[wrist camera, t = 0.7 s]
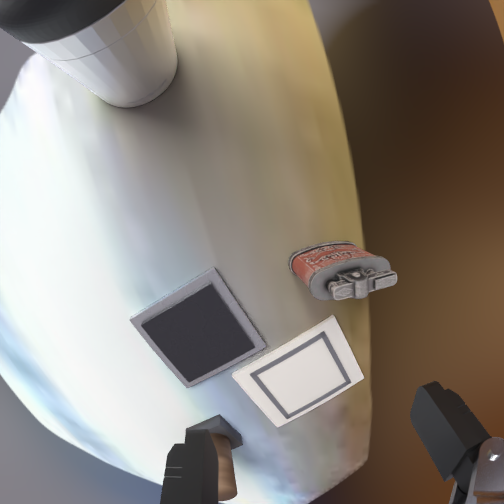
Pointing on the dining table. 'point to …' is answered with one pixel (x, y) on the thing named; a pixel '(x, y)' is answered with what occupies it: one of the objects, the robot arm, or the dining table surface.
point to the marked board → (301, 373)
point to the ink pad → (198, 329)
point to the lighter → (340, 270)
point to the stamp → (223, 453)
